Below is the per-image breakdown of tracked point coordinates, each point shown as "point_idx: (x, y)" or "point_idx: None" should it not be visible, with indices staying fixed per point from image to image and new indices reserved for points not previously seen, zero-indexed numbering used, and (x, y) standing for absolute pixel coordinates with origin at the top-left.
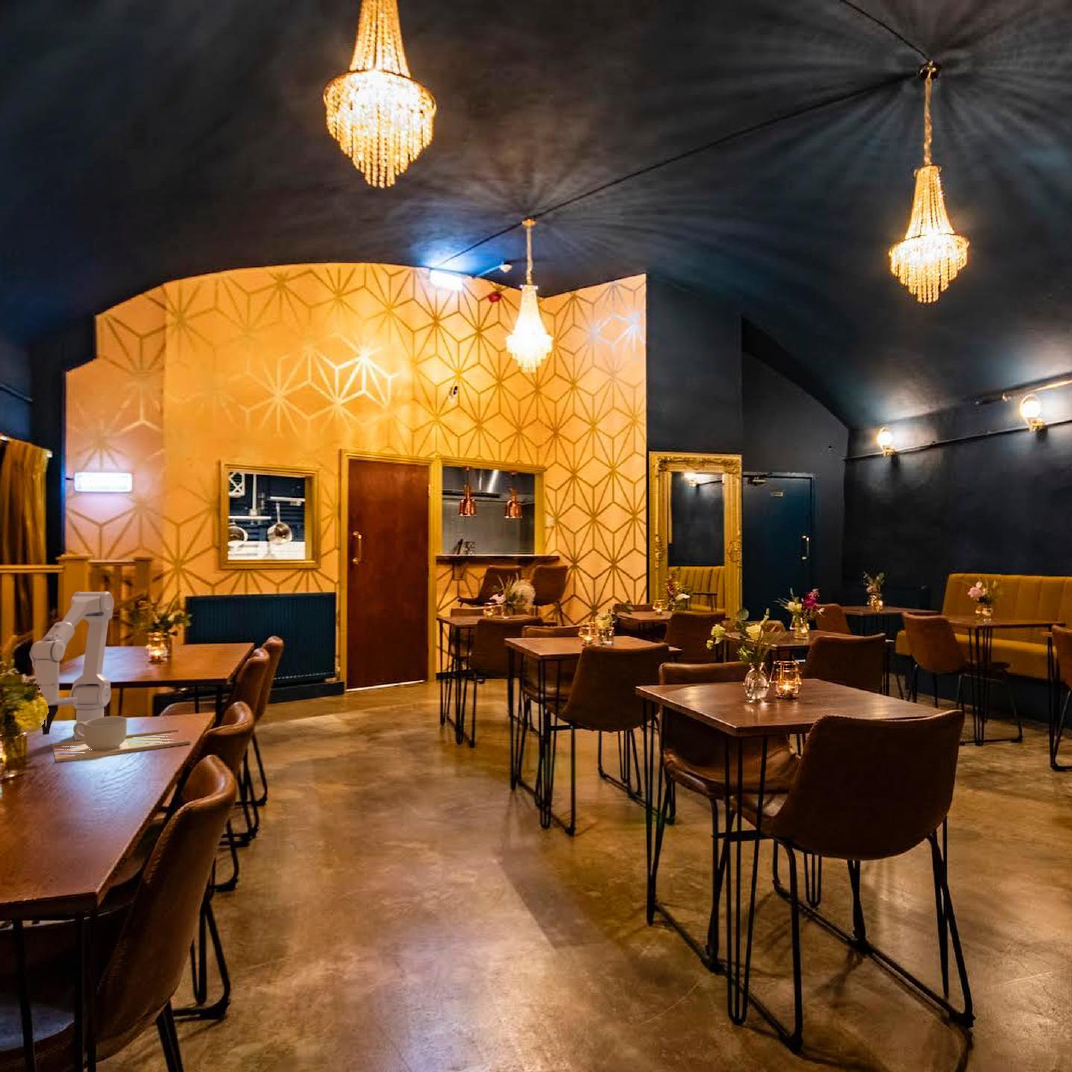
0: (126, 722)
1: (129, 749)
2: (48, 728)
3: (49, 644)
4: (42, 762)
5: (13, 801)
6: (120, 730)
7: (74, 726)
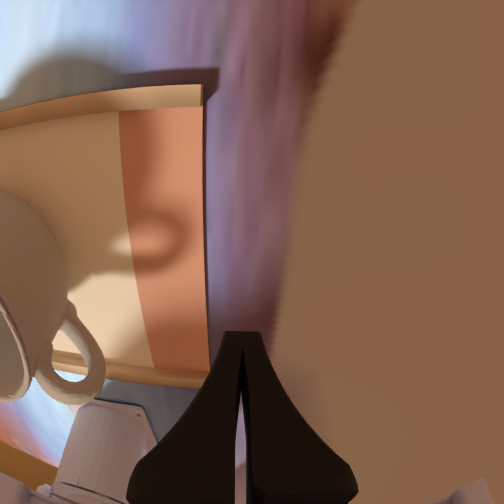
0: None
1: None
2: (226, 357)
3: None
4: (268, 137)
5: None
6: None
7: (92, 384)
